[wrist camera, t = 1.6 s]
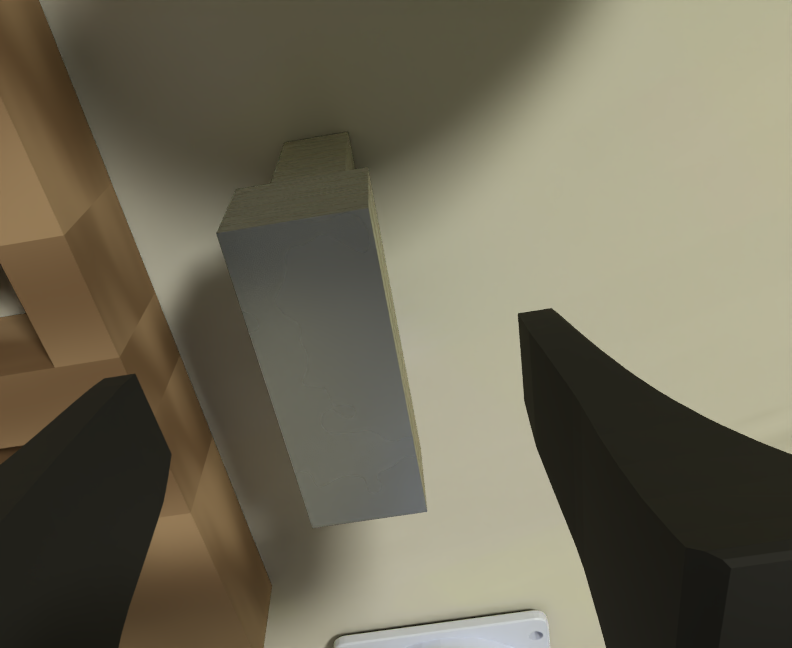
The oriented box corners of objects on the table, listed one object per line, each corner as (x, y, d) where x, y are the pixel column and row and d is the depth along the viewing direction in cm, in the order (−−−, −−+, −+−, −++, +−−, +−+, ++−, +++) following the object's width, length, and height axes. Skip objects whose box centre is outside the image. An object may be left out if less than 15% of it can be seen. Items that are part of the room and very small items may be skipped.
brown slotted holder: (272, 586, 24) (260, 667, 21) (107, 609, 24) (77, 691, 22) (-33, -178, 12) (-134, -200, 10) (-338, -117, 13) (-513, -122, 10)
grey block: (411, 364, 19) (427, 511, 15) (325, 377, 19) (312, 528, 15) (367, 117, 16) (368, 208, 11) (260, 135, 16) (216, 232, 11)
